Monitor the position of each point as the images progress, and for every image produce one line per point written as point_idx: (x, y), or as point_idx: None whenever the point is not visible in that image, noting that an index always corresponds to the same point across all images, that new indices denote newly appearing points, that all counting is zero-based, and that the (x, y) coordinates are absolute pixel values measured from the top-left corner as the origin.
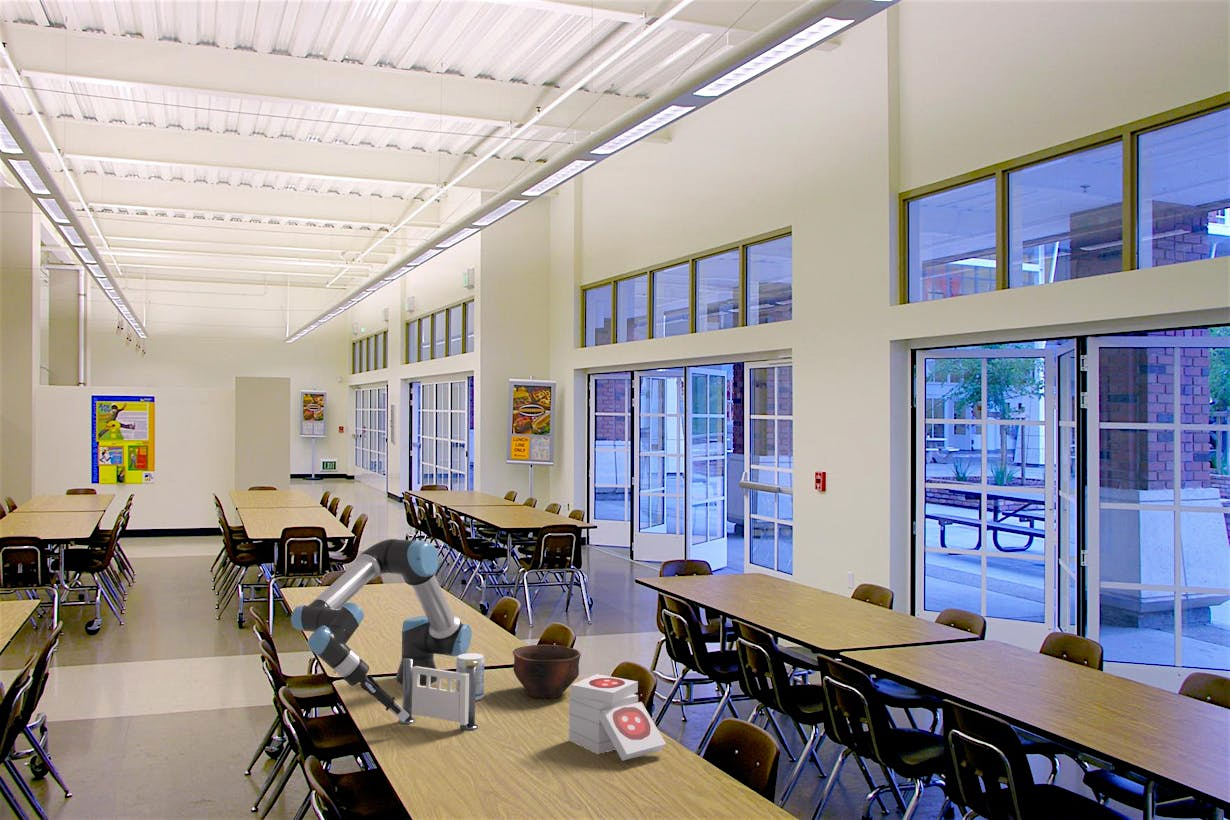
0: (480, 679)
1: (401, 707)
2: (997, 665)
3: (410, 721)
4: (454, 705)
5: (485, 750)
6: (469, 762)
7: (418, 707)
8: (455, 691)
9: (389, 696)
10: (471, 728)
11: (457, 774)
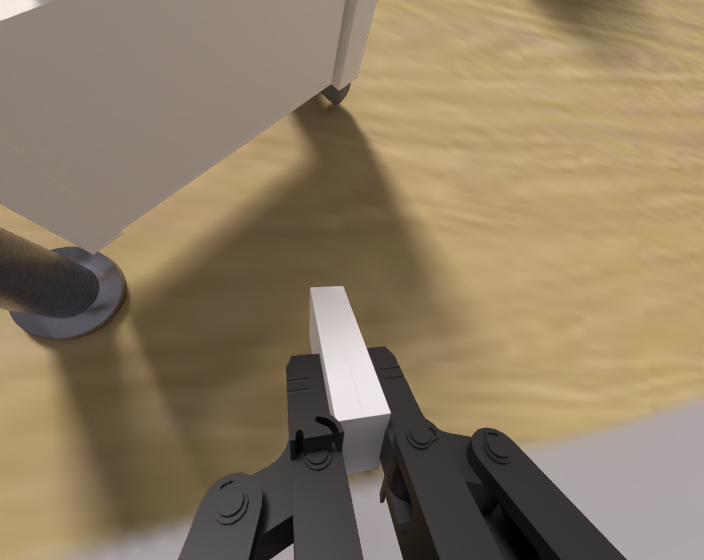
0: None
1: (334, 338)
2: None
3: (109, 275)
4: (325, 13)
5: (517, 104)
6: (602, 170)
7: (105, 198)
8: None
9: (263, 505)
10: None
11: (679, 220)
